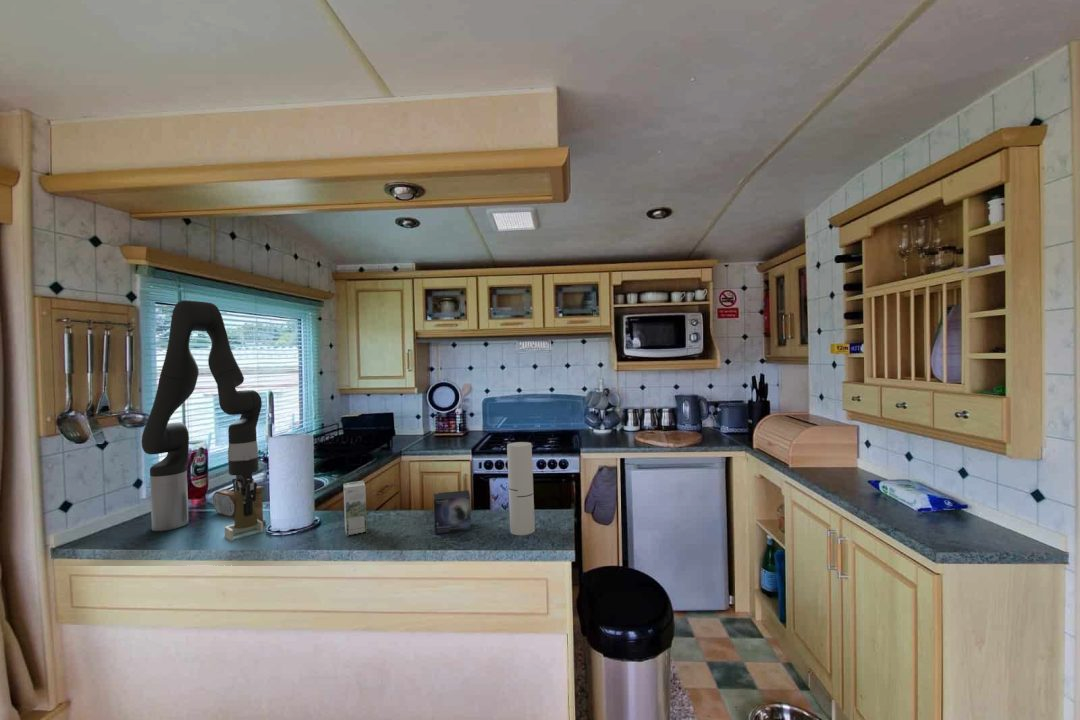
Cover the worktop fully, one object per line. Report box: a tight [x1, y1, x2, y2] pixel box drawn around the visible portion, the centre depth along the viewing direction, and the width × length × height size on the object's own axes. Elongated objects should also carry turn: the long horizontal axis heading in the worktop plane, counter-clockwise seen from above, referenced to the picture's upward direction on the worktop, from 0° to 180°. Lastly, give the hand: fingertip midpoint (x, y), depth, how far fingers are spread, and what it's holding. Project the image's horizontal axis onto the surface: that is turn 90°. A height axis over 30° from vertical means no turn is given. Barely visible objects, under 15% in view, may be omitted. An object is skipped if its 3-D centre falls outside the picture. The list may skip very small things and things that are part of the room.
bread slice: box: [212, 488, 237, 518], centre depth 156 cm, size 15×3×8 cm, turn 60°
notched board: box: [224, 519, 264, 542], centre depth 136 cm, size 6×8×3 cm, turn 140°
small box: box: [433, 489, 472, 535], centre depth 134 cm, size 11×6×10 cm, turn 103°
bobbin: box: [254, 485, 267, 526], centre depth 144 cm, size 4×4×12 cm
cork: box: [233, 489, 258, 529], centre depth 135 cm, size 6×6×11 cm
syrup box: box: [343, 480, 368, 537], centre depth 135 cm, size 6×6×14 cm
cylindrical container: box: [506, 441, 536, 536], centre depth 131 cm, size 7×7×25 cm
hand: (245, 514), depth 135 cm, fingers closed on cork, 4 cm apart
